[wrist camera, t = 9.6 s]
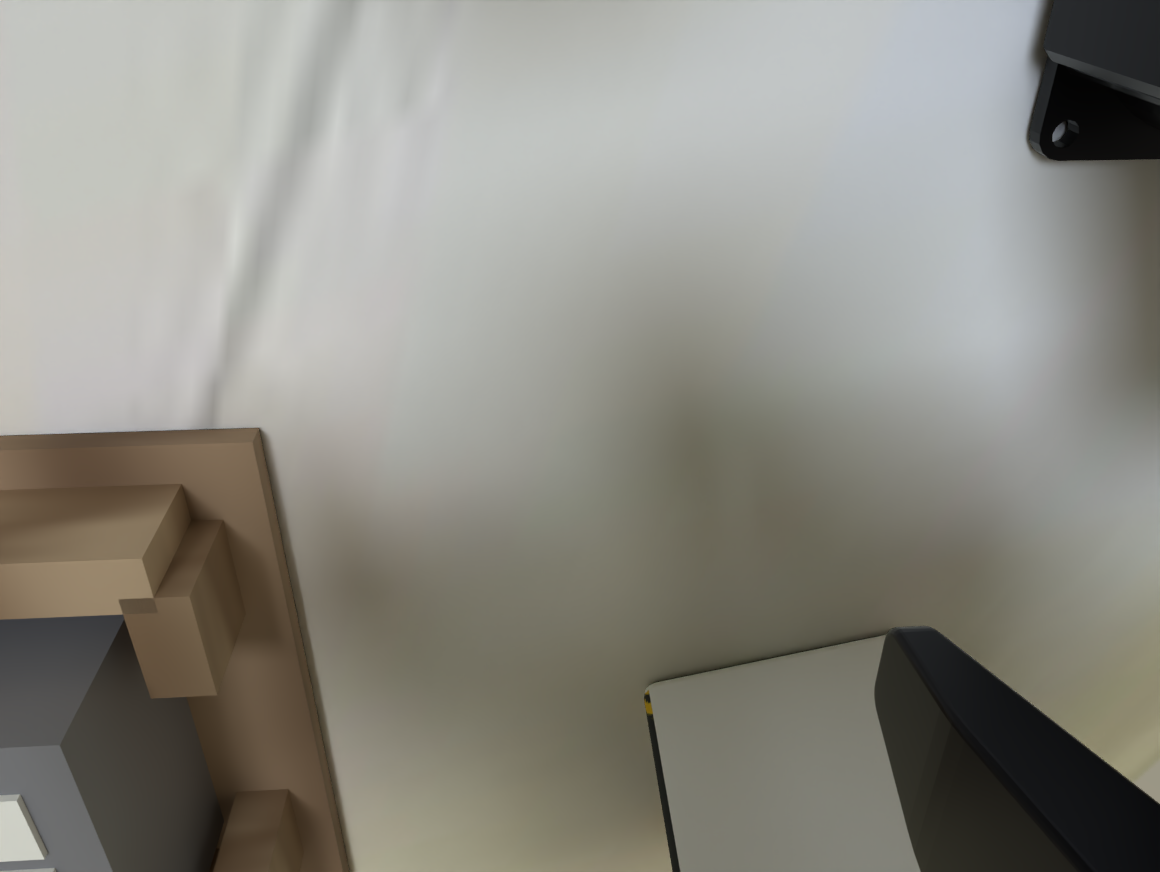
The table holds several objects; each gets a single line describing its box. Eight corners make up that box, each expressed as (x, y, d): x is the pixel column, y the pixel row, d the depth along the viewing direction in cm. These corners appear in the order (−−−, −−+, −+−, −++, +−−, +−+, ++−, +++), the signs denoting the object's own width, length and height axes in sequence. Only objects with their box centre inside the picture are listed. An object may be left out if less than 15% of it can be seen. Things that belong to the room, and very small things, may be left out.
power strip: (148, 571, 22) (56, 751, 17) (224, 820, 26) (167, 1012, 22) (-31, 579, 21) (-170, 762, 17) (77, 829, 26) (-10, 1023, 22)
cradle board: (258, 427, 20) (220, 513, 18) (349, 873, 29) (333, 978, 26) (-219, 442, 20) (-335, 533, 17) (15, 893, 28) (-38, 1002, 25)
